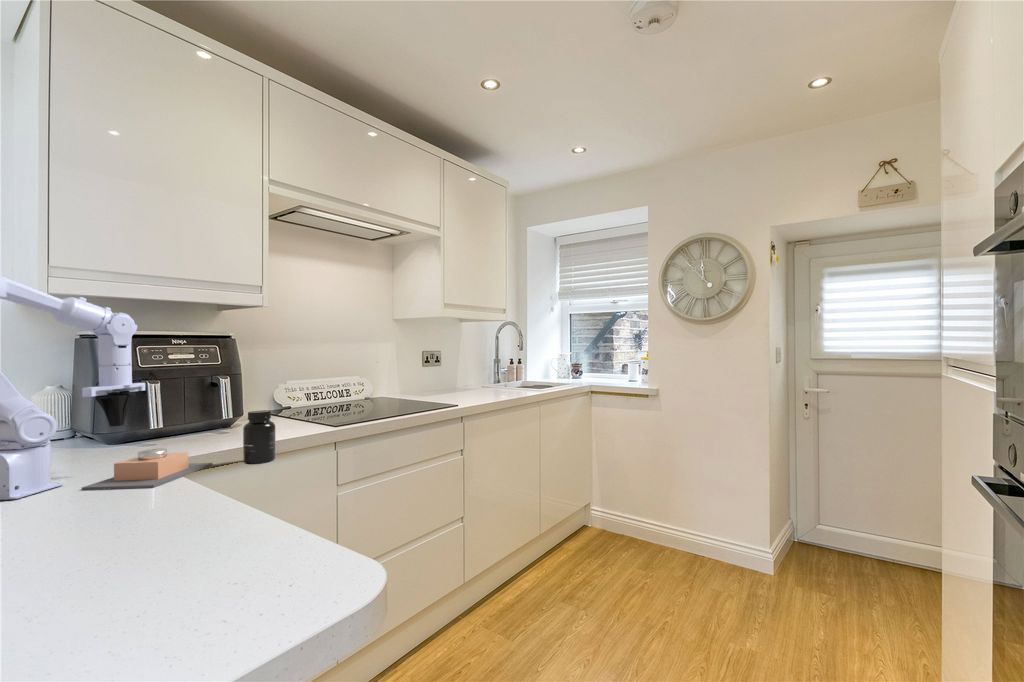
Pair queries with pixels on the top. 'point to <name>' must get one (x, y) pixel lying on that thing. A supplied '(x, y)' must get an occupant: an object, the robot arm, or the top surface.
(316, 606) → the top surface
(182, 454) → the tan rectangular brick
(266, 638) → the top surface
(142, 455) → the plunger
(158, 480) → the mat
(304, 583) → the top surface
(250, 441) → the supplement bottle
